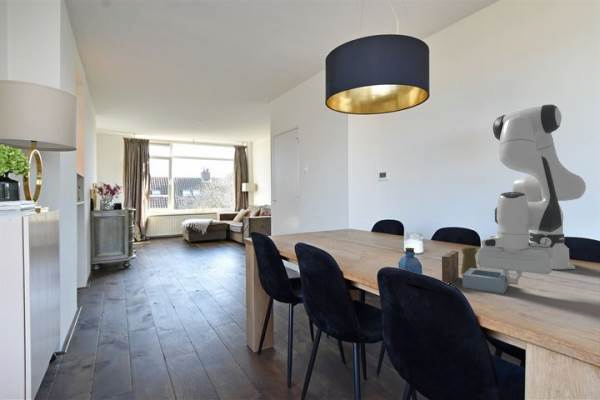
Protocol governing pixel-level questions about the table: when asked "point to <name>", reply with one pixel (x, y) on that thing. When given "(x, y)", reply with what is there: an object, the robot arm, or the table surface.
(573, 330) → the table surface
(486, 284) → the socket block
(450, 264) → the wall
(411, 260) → the perfume bottle
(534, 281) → the table surface
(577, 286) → the table surface
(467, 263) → the cork
